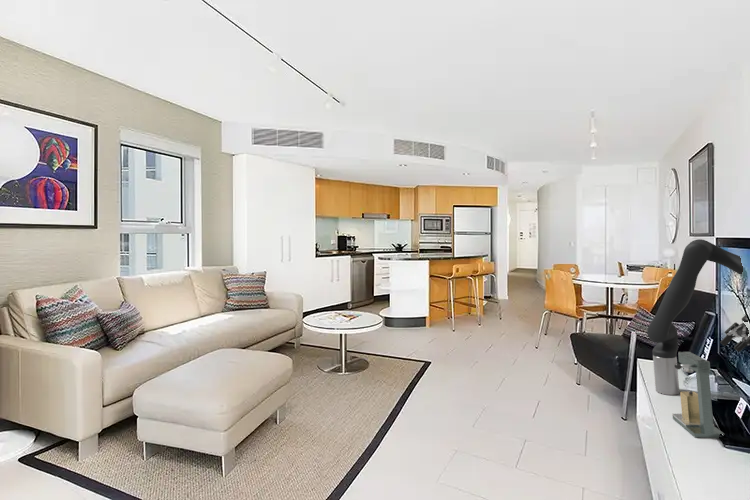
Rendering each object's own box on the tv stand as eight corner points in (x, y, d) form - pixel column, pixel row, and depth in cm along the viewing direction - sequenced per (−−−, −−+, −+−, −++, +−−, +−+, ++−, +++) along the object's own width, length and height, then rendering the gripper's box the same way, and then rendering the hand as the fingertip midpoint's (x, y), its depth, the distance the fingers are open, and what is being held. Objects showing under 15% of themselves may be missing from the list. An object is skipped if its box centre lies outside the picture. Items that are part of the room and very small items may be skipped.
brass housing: (682, 416, 164) (679, 389, 164) (696, 416, 163) (694, 388, 163) (689, 421, 159) (686, 393, 159) (703, 421, 158) (701, 393, 158)
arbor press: (662, 418, 168) (656, 350, 167) (699, 418, 165) (693, 349, 164) (683, 437, 152) (677, 362, 152) (724, 437, 149) (718, 361, 149)
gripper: (740, 307, 167) (710, 336, 169) (765, 313, 153) (732, 345, 155) (756, 319, 166) (726, 348, 168) (783, 327, 152) (749, 358, 154)
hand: (729, 347), depth 162 cm, fingers open, 8 cm apart
